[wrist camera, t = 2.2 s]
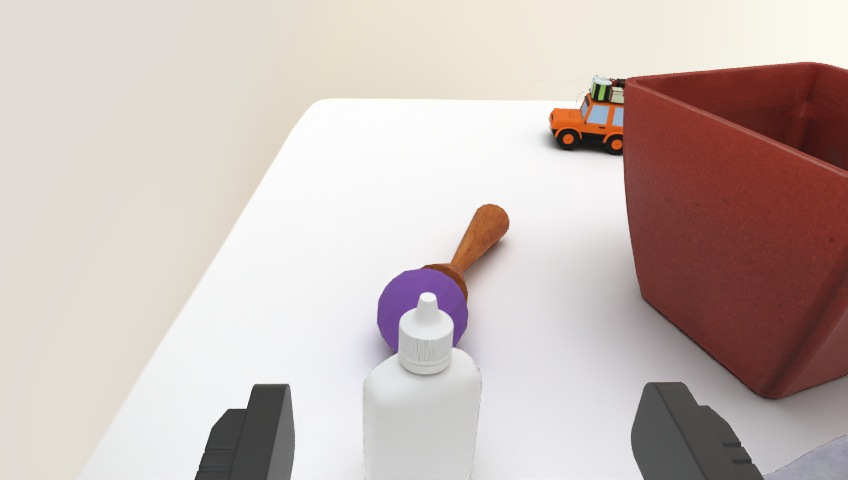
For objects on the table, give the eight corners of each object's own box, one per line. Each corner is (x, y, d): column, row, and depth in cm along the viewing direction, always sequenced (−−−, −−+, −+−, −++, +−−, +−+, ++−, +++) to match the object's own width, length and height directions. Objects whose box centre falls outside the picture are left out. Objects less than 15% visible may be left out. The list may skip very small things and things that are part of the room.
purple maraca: (533, 204, 52) (461, 319, 35) (511, 261, 55) (436, 392, 38) (470, 180, 53) (371, 279, 36) (452, 236, 56) (353, 352, 39)
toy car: (646, 158, 73) (663, 86, 69) (547, 151, 74) (559, 79, 70) (634, 138, 79) (649, 71, 75) (543, 132, 80) (553, 65, 75)
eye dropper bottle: (372, 443, 34) (372, 264, 28) (471, 454, 33) (493, 275, 27) (357, 511, 30) (353, 321, 24) (468, 525, 30) (493, 335, 24)
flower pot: (771, 460, 34) (903, 192, 25) (576, 280, 49) (618, 75, 41) (975, 380, 40) (1134, 146, 32) (748, 244, 56) (815, 60, 47)
